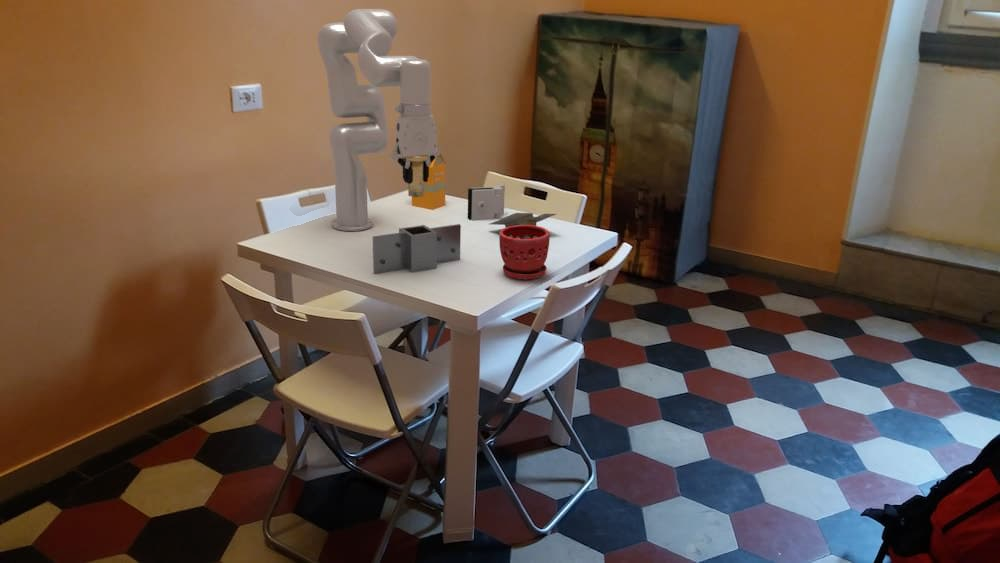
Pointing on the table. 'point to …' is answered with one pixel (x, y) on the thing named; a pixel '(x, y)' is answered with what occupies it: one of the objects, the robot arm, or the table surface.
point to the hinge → (486, 203)
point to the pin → (417, 175)
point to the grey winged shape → (521, 219)
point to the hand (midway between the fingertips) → (415, 181)
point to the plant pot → (524, 251)
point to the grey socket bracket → (416, 248)
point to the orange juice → (433, 186)
